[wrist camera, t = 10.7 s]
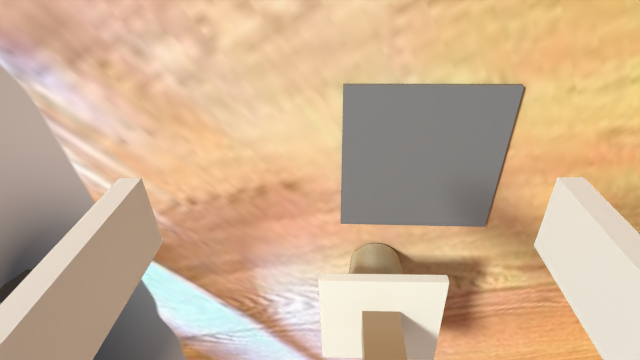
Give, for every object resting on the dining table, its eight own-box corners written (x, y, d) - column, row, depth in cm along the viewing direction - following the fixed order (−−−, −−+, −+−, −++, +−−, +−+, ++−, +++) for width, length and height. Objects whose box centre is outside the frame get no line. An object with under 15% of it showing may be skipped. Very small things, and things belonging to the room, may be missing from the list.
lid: (447, 274, 39) (469, 346, 32) (431, 352, 45) (447, 424, 39) (318, 273, 39) (313, 342, 33) (323, 349, 46) (319, 419, 40)
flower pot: (418, 277, 51) (430, 334, 44) (351, 291, 53) (352, 347, 46) (401, 225, 46) (412, 278, 39) (328, 242, 48) (326, 296, 41)
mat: (521, 84, 36) (524, 86, 36) (483, 223, 45) (485, 226, 45) (343, 83, 37) (343, 85, 37) (340, 220, 46) (340, 223, 46)
